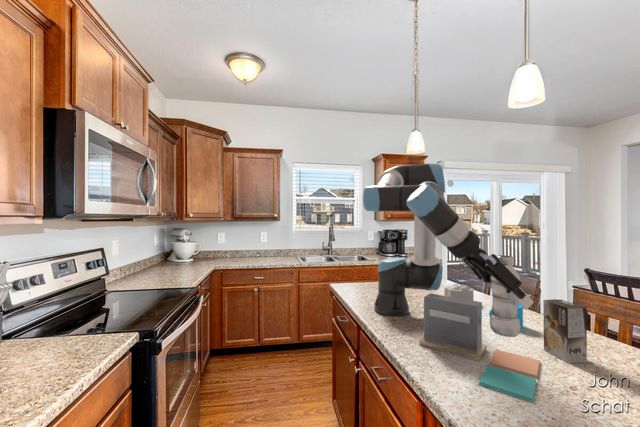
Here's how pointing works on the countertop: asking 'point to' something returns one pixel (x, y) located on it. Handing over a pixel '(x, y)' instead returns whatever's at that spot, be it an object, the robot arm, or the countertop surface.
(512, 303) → the plastic bottle
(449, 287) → the lumpy-topped squat cylinder
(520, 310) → the mug
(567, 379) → the countertop surface
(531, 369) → the terracotta pad
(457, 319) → the box
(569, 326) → the coffee box
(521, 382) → the teal pad
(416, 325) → the countertop surface
